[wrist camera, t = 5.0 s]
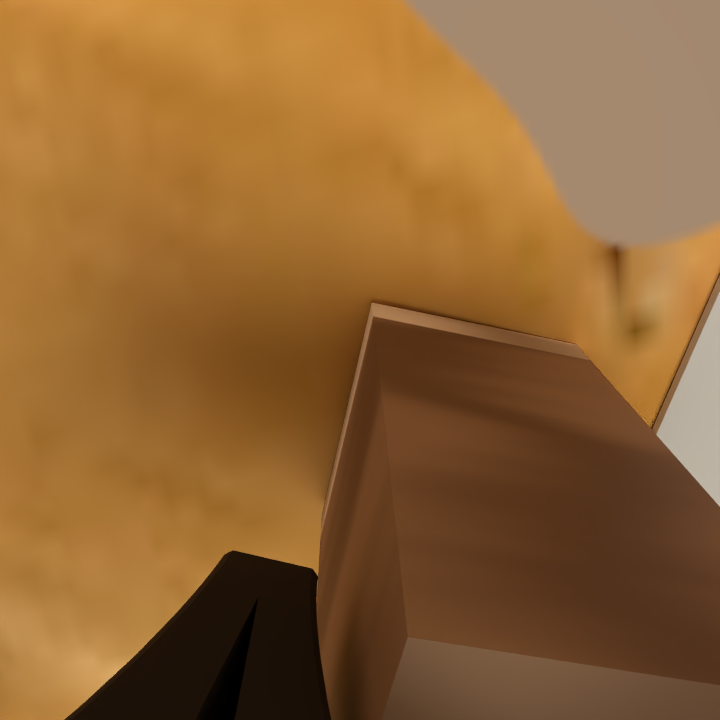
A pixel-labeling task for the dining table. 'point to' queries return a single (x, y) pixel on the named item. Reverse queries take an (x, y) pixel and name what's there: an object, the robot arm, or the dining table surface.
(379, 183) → the dining table surface
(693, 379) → the board
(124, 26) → the dining table surface
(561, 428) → the walnut block
